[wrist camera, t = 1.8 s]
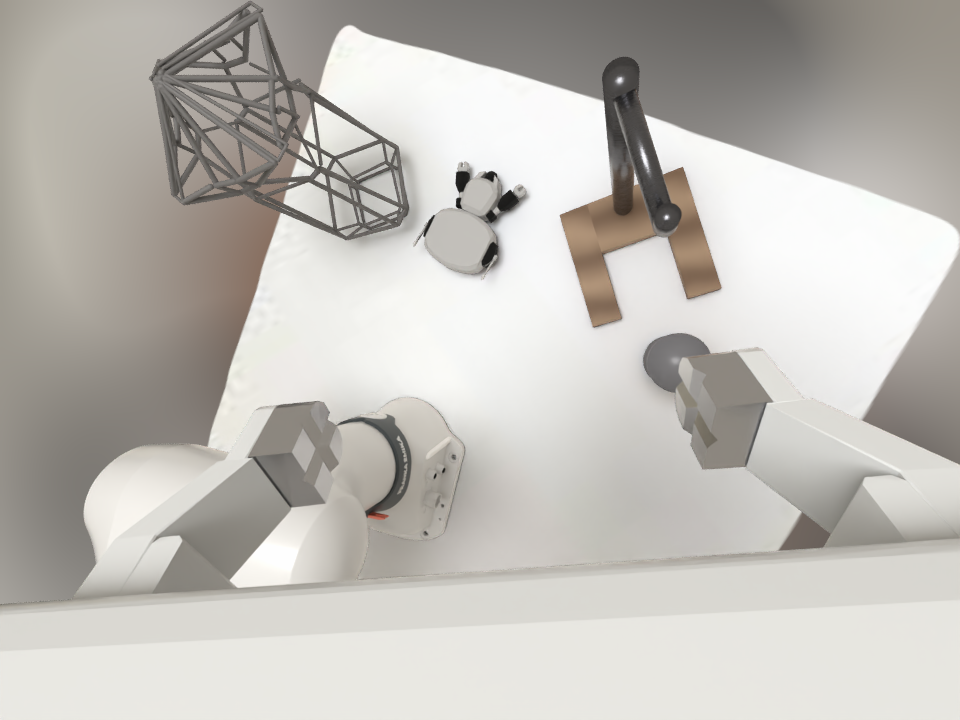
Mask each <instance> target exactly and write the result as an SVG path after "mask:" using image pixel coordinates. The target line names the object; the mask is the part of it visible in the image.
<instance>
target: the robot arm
mask: <svg viewBox="0 0 960 720" xmlns="http://www.w3.org/2000/svg"><path fill="white" fill-rule="evenodd" d="M678 372H679V374H680V376H681V378H682V380H683V381H682V382H681V383H680V384H679V385H678V386H677V387H676V394H675V404H676V412H677V415H678V418H679V421H680V423H681V425H682V428H683V429H684V430H686V431H687V432H689V433H690V434H692V439H691V447H692V449H693V451H694V453H695V455H696V457H697V459H698V461H699V463H700V465H701V467H702V469H718V468H733V467H746V469H747V470H748V471H750V472H751V473H752V474H753V475H755V476H756V477H757V478H759V479H760V480H761V481H763V482H764V483H765V484H766V485H768V486H769V487H770V488H772V489H773V490H774V491H776V492H777V493H778V494H779V495H781V496H782V497H783V498H785V499H786V500H787V501H789V502H790V503H791V504H793V505H794V506H795V507H796V508H798V509H799V510H800V511H802V512H803V513H804V514H806V515H807V516H808V517H810V518H811V519H812V520H814V521H815V522H816V523H818V524H819V525H820V526H821V527H823V528H824V529H825V530H826V531H828V532H829V533H830V534H831V536H830V537H829V539H828V541H827V542H826V544H825V546H824V548H814V549H798V550H785V551H769V552H755V553H740V554H725V555H711V556H696V557H682V558H667V559H653V560H638V561H624V562H609V563H594V564H580V565H565V566H551V567H536V568H522V569H507V570H492V571H478V572H463V573H448V574H434V575H419V576H404V577H390V578H375V579H360V580H356V579H357V578H358V576H359V574H360V572H361V570H362V567H363V565H364V562H365V558H366V555H367V549H368V543H369V528H368V527H370V528H372V529H374V530H377V531H380V532H383V533H386V534H389V535H392V536H395V537H398V538H402V539H408V540H418V541H422V540H430V539H434V538H436V537H438V536H440V535H442V534H443V533H444V531H445V528H446V524H447V520H448V516H449V512H450V508H451V504H452V500H453V496H454V492H455V488H456V484H457V480H458V476H459V472H460V468H461V464H462V460H463V456H464V452H465V448H464V445H463V444H462V442H461V441H460V440H459V439H458V438H457V437H455V436H454V435H453V434H452V433H451V432H450V430H449V429H448V427H447V425H446V423H445V421H444V419H443V418H442V416H441V415H440V414H439V413H438V411H437V410H436V409H434V408H433V407H432V406H431V405H429V404H428V403H426V402H424V401H422V400H419V399H416V398H410V397H404V398H398V399H395V400H393V401H390V402H389V403H387V404H386V405H384V406H383V407H382V408H381V409H380V410H379V411H378V412H376V413H368V414H363V415H359V416H358V417H355V418H352V419H348V420H345V421H343V422H341V423H339V424H338V425H335V424H333V423H332V422H330V421H328V420H327V419H328V416H329V413H330V412H329V410H328V409H327V407H326V405H325V404H324V403H323V402H320V401H314V402H303V403H293V404H282V405H276V406H266V407H260V408H258V409H256V410H255V411H254V412H253V414H252V416H251V417H250V419H249V421H248V422H247V424H246V426H245V427H244V429H243V431H242V432H241V434H240V435H239V437H238V439H237V440H236V442H235V444H234V445H233V447H232V449H231V450H230V452H229V453H228V452H224V451H221V450H217V449H213V448H209V447H206V446H202V445H195V444H151V445H145V446H141V447H137V448H135V449H132V450H130V451H128V452H126V453H124V454H122V455H121V456H120V457H118V458H116V459H115V460H114V461H112V462H111V463H110V464H109V465H108V466H107V467H106V468H105V469H104V470H103V471H102V472H101V473H100V474H99V476H98V477H97V478H96V480H95V481H94V483H93V485H92V486H91V488H90V490H89V492H88V495H87V497H86V501H85V505H84V521H85V525H86V527H87V530H88V532H89V534H90V537H91V540H92V543H93V547H94V551H95V558H96V566H95V567H94V569H93V570H92V571H91V573H90V574H89V576H88V577H87V578H86V580H85V581H84V583H83V584H82V585H81V587H80V588H79V590H78V591H77V592H76V594H75V595H74V596H73V598H72V599H68V600H54V601H39V602H24V603H9V604H0V720H960V465H959V464H956V463H954V462H952V461H950V460H948V459H945V458H943V457H941V456H939V455H937V454H934V453H932V452H930V451H928V450H926V449H923V448H921V447H919V446H917V445H914V444H912V443H910V442H908V441H906V440H903V439H901V438H899V437H897V436H895V435H892V434H890V433H888V432H886V431H884V430H881V429H879V428H877V427H875V426H872V425H870V424H868V423H866V422H864V421H862V420H859V419H857V418H855V417H853V416H851V415H848V414H846V413H844V412H842V411H840V410H837V409H835V408H833V407H831V406H829V405H826V404H824V403H822V402H820V401H817V400H815V399H813V398H812V399H804V398H803V397H802V395H801V394H800V393H799V392H798V391H797V389H796V388H795V387H794V386H793V385H792V383H791V382H790V381H789V380H788V379H787V378H786V376H785V375H784V374H783V373H782V372H781V370H780V369H779V368H778V367H777V366H776V365H775V363H774V362H773V361H772V360H771V359H770V357H769V356H768V355H767V354H766V353H765V351H764V350H763V349H760V348H758V347H756V348H748V349H741V350H734V351H731V352H722V353H714V354H706V355H698V356H690V357H683V358H682V359H681V361H680V364H679V371H678ZM453 454H454V455H456V459H454V458H453ZM443 504H444V505H443ZM425 531H426V532H427V533H428V535H427V534H425Z"/></svg>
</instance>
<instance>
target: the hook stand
mask: <svg viewBox="0 0 960 720" xmlns="http://www.w3.org/2000/svg"><path fill="white" fill-rule="evenodd" d="M602 81H603V92H604V105H605V116H606V128H607V139H608V151H609V162H610V174H611V185H612V197H613V208H614V211H615V213H616V214H618V215H621V216H623V215H627V214H628V213H629V212H630V211H631V210H632V207H633V190H634V170H635V174H636V177H637V180H638V183H639V186H640V190H641V193H642V196H643V199H644V202H645V206H646V209H647V212H648V215H649V219H650V222H651V225H652V229H653V232H654V233H655V234H656V235H657V236H659V237H668V236H670V235H672V234H673V233H674V232H675V231H676V229H677V226H678V224H679V222H680V219H681V216H682V213H681V209H680V208H679V207H678V206H677V205H676V204H673V203H672V202H671V199H670V195H669V192H668V189H667V186H666V183H665V180H664V176H663V173H662V170H661V167H660V164H659V161H658V157H657V154H656V151H655V148H654V145H653V142H652V138H651V135H650V132H649V129H648V126H647V122H646V119H645V116H644V113H643V110H642V107H641V104H640V101H639V97H638V89H639V66H638V64H637V63H636V62H635V60H633V59H632V58H629V57H620V58H617V59H615V60H613V61H612V62H611V63H609V64H608V65H607V67H606V68H605V70H604V72H603V77H602Z"/></svg>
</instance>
